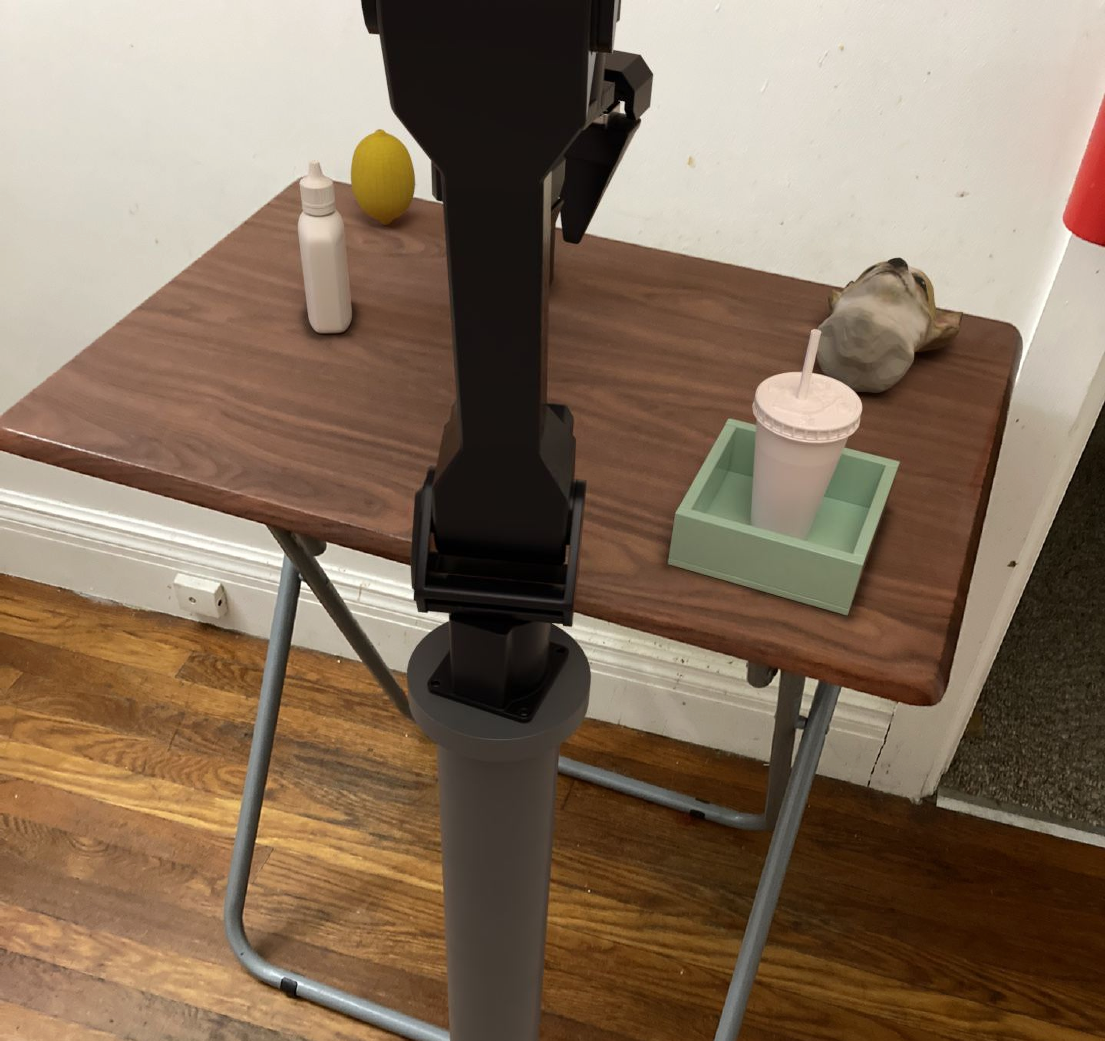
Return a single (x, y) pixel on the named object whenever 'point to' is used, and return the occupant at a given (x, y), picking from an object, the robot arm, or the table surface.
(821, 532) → the open box
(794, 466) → the smoothie
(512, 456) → the robot arm
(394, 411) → the table surface
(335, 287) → the eye dropper bottle
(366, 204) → the lemon
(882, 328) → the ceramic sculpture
